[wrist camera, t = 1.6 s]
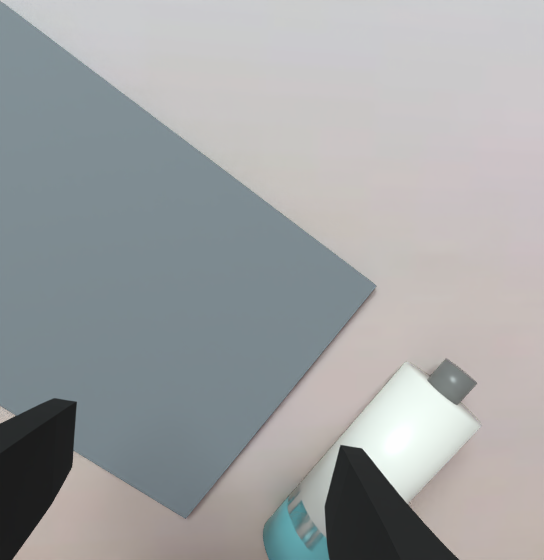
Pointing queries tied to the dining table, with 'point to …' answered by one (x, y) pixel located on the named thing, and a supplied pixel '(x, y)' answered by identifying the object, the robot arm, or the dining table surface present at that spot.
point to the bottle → (381, 452)
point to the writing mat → (145, 279)
